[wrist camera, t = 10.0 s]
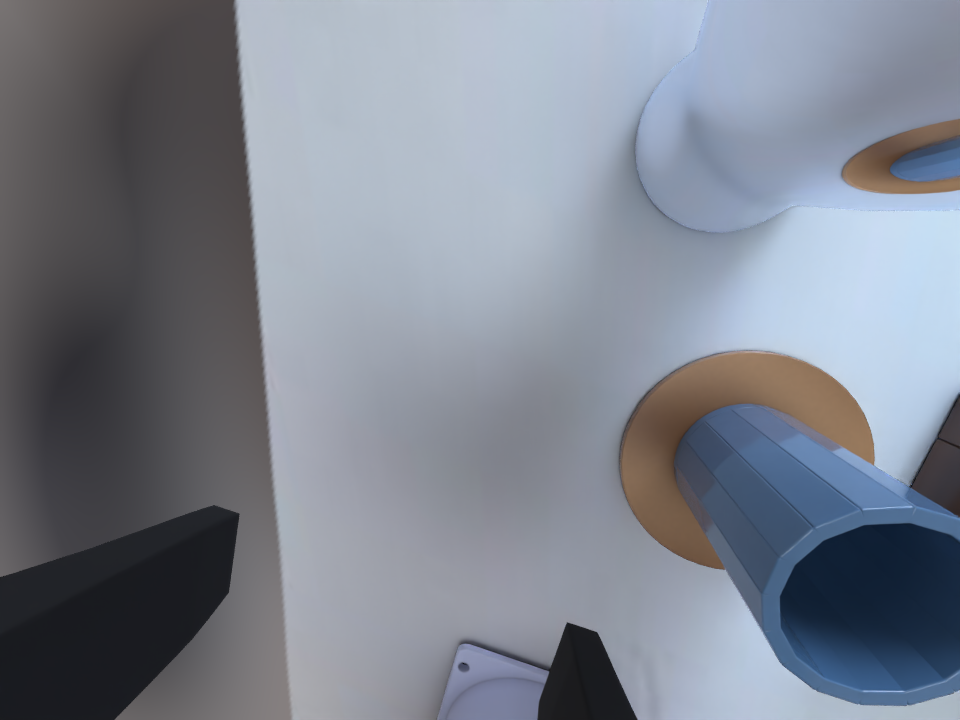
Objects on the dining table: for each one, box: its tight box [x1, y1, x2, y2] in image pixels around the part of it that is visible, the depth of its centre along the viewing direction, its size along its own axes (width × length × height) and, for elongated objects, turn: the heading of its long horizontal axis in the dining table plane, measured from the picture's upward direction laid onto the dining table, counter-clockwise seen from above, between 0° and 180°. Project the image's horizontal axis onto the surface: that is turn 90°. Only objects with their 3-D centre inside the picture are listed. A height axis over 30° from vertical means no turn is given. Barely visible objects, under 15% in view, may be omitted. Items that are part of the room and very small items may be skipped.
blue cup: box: [674, 404, 960, 706], centre depth 13 cm, size 5×5×8 cm
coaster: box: [620, 350, 875, 570], centre depth 17 cm, size 9×9×1 cm
